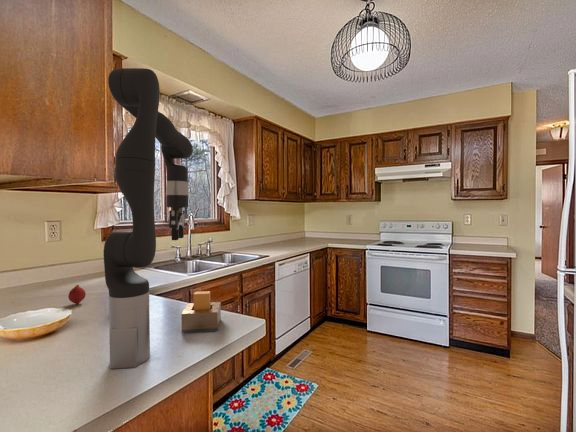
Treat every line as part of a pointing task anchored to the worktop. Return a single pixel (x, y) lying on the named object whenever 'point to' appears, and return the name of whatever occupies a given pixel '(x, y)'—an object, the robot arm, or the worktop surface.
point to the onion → (76, 294)
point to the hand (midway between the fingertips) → (177, 239)
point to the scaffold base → (201, 318)
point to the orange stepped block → (202, 300)
